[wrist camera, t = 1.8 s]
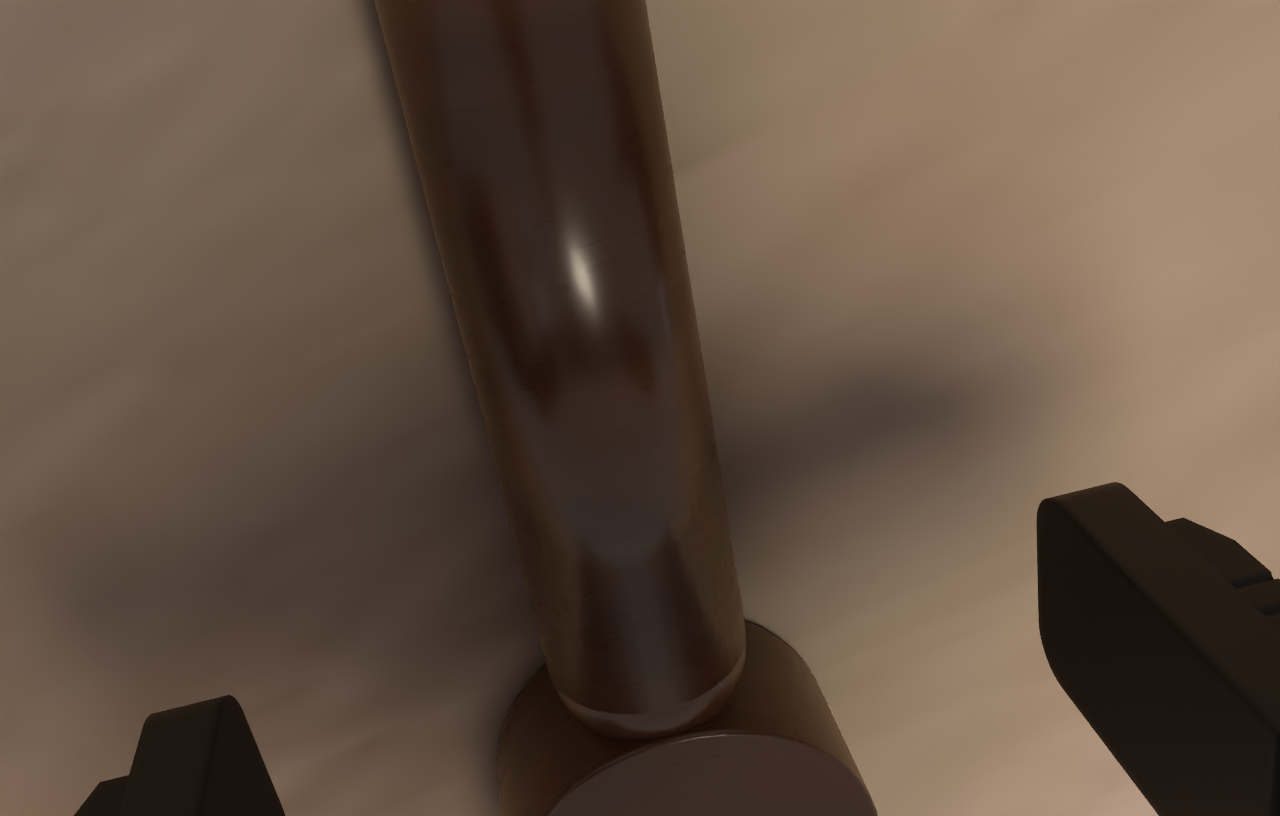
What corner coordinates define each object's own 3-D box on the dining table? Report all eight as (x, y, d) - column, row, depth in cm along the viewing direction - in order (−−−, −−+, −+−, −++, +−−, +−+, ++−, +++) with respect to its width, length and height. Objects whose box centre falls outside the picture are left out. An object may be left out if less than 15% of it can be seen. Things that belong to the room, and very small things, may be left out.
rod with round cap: (203, -196, 12) (157, -194, 10) (697, -288, 12) (763, -308, 10) (534, 903, 19) (553, 1052, 17) (837, 823, 20) (895, 958, 17)
